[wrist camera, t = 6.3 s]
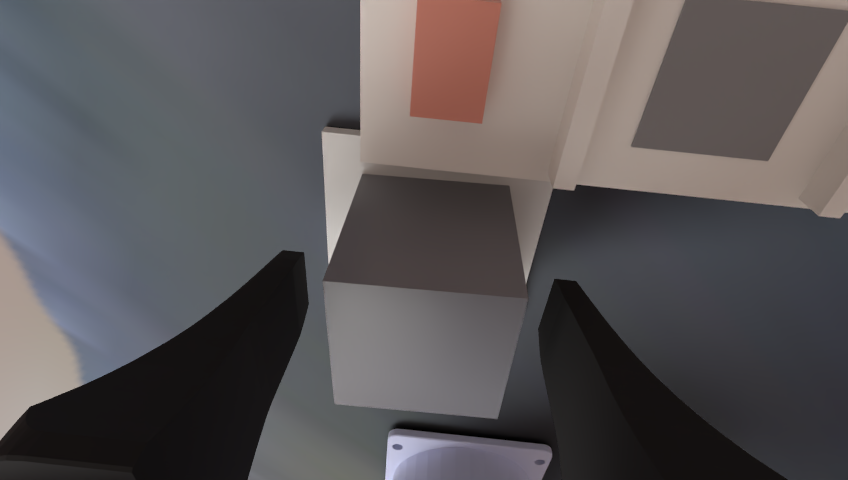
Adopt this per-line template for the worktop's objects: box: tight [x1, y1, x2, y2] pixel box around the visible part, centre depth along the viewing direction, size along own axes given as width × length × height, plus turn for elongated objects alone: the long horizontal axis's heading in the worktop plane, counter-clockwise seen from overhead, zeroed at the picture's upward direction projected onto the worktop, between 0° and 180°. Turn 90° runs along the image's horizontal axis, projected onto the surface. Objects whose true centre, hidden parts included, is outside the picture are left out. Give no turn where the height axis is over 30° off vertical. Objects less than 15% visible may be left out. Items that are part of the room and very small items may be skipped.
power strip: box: [360, 0, 848, 218], centre depth 10 cm, size 6×20×6 cm, turn 85°
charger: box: [323, 174, 528, 419], centre depth 13 cm, size 4×5×5 cm
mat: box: [322, 127, 553, 282], centre depth 16 cm, size 7×7×1 cm
